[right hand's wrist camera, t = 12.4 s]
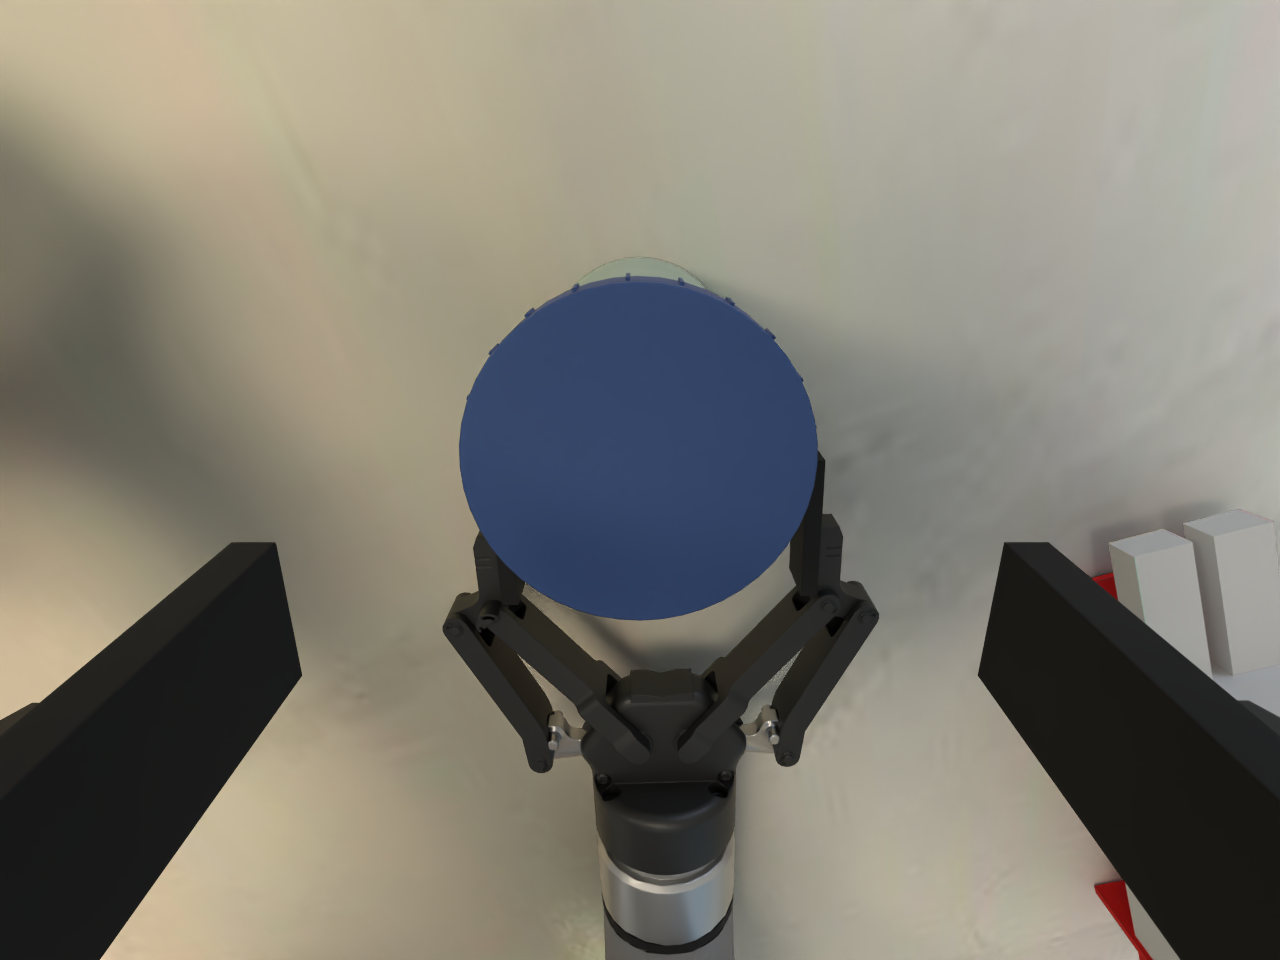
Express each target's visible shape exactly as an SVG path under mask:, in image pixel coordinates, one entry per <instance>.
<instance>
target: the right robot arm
mask: <svg viewBox="0 0 1280 960" xmlns="http://www.w3.org/2000/svg"><path fill="white" fill-rule="evenodd" d="M301 676H302V672H301V667H300V662H299V657H298V652H297V647H296V642H295V637H294V632H293V627H292V622H291V617H290V612H289V607H288V602H287V597H286V592H285V587H284V582H283V577H282V572H281V566H280V561H279V556H278V551H277V546H276V542H231V543H230V544H229V545H228V546H227V547H225V548H224V549H223V550H222V551H221V552H219V553H218V554H217V555H216V556H215V557H214V558H212V559H211V560H210V561H209V562H208V563H206V564H205V565H204V566H203V567H202V568H200V569H199V570H198V571H197V572H196V573H194V574H193V575H192V576H191V577H190V578H188V579H187V580H186V581H185V582H184V583H182V584H181V585H180V586H179V587H178V588H176V589H175V590H174V591H173V592H172V593H170V594H169V595H168V596H167V597H166V598H165V599H163V600H162V601H161V602H160V603H159V604H157V605H156V606H155V607H154V608H153V609H151V610H150V611H149V612H148V613H147V614H145V615H144V616H143V617H142V618H141V619H139V620H138V621H137V622H136V623H135V624H133V625H132V626H131V627H130V628H129V629H127V630H126V631H125V632H124V633H123V634H121V635H120V636H119V637H118V638H117V639H115V640H114V641H113V642H112V643H111V644H110V645H108V646H107V647H106V648H105V649H104V650H102V651H101V652H100V653H99V654H98V655H96V656H95V657H94V658H93V659H92V660H90V661H89V662H88V663H87V664H86V665H84V666H83V667H82V668H81V669H80V670H78V671H77V672H76V673H75V674H74V675H72V676H71V677H70V678H69V679H68V680H66V681H65V682H64V683H63V684H62V685H61V686H59V687H58V688H57V689H56V690H55V691H53V692H52V693H51V694H50V695H49V696H47V697H46V698H45V699H44V700H43V701H41V702H40V703H31V704H29V705H27V706H26V707H24V708H22V709H20V710H18V711H16V712H15V713H13V714H11V715H9V716H7V717H5V718H4V719H2V720H0V960H100V959H101V957H102V956H103V955H104V953H105V952H106V950H107V949H108V948H109V946H110V945H111V943H112V942H113V941H114V939H115V938H116V936H117V935H118V933H119V932H120V931H121V929H122V928H123V926H124V925H125V924H126V922H127V921H128V919H129V918H130V917H131V915H132V914H133V912H134V911H135V910H136V908H137V907H138V905H139V904H140V903H141V901H142V900H143V898H144V897H145V896H146V894H147V893H148V891H149V890H150V889H151V887H152V886H153V884H154V883H155V881H156V880H157V879H158V877H159V876H160V874H161V873H162V872H163V870H164V869H165V867H166V866H167V865H168V863H169V862H170V860H171V859H172V858H173V856H174V855H175V853H176V852H177V851H178V849H179V848H180V846H181V845H182V844H183V842H184V841H185V839H186V838H187V837H188V835H189V834H190V832H191V831H192V830H193V828H194V827H195V825H196V824H197V822H198V821H199V820H200V818H201V817H202V815H203V814H204V813H205V811H206V810H207V808H208V807H209V806H210V804H211V803H212V801H213V800H214V799H215V797H216V796H217V794H218V793H219V792H220V790H221V789H222V787H223V786H224V785H225V783H226V782H227V780H228V779H229V778H230V776H231V775H232V773H233V772H234V770H235V769H236V768H237V766H238V765H239V763H240V762H241V761H242V759H243V758H244V756H245V755H246V754H247V752H248V751H249V749H250V748H251V747H252V745H253V744H254V742H255V741H256V740H257V738H258V737H259V735H260V734H261V733H262V731H263V730H264V728H265V727H266V726H267V724H268V723H269V721H270V720H271V719H272V717H273V716H274V714H275V713H276V711H277V710H278V709H279V707H280V706H281V704H282V703H283V702H284V700H285V699H286V697H287V696H288V695H289V693H290V692H291V690H292V689H293V688H294V686H295V685H296V683H297V682H298V681H299V679H300V678H301ZM978 676H979V678H980V679H981V681H982V682H983V683H984V685H985V686H986V688H987V689H988V690H989V692H990V693H991V695H992V696H993V697H994V699H995V700H996V702H997V703H998V704H999V706H1000V707H1001V709H1002V710H1003V711H1004V713H1005V714H1006V716H1007V717H1008V719H1009V720H1010V721H1011V723H1012V724H1013V726H1014V727H1015V728H1016V730H1017V731H1018V733H1019V734H1020V735H1021V737H1022V738H1023V740H1024V741H1025V742H1026V744H1027V745H1028V747H1029V748H1030V749H1031V751H1032V752H1033V754H1034V755H1035V756H1036V758H1037V759H1038V761H1039V762H1040V763H1041V765H1042V766H1043V768H1044V769H1045V770H1046V772H1047V773H1048V775H1049V776H1050V778H1051V779H1052V780H1053V782H1054V783H1055V785H1056V786H1057V787H1058V789H1059V790H1060V792H1061V793H1062V794H1063V796H1064V797H1065V799H1066V800H1067V801H1068V803H1069V804H1070V806H1071V807H1072V808H1073V810H1074V811H1075V813H1076V814H1077V815H1078V817H1079V818H1080V820H1081V821H1082V822H1083V824H1084V825H1085V827H1086V828H1087V830H1088V831H1089V832H1090V834H1091V835H1092V837H1093V838H1094V839H1095V841H1096V842H1097V844H1098V845H1099V846H1100V848H1101V849H1102V851H1103V852H1104V853H1105V855H1106V856H1107V858H1108V859H1109V860H1110V862H1111V863H1112V865H1113V866H1114V867H1115V869H1116V870H1117V872H1118V873H1119V874H1120V876H1121V877H1122V879H1123V880H1124V881H1125V883H1126V884H1127V886H1128V887H1129V889H1130V890H1131V891H1132V893H1133V894H1134V896H1135V897H1136V898H1137V900H1138V901H1139V903H1140V904H1141V905H1142V907H1143V908H1144V910H1145V911H1146V912H1147V914H1148V915H1149V917H1150V918H1151V919H1152V921H1153V922H1154V924H1155V925H1156V926H1157V928H1158V929H1159V931H1160V932H1161V933H1162V935H1163V936H1164V938H1165V939H1166V941H1167V942H1168V943H1169V945H1170V946H1171V948H1172V949H1173V950H1174V952H1175V953H1176V955H1177V956H1178V957H1179V959H1180V960H1280V717H1279V716H1277V715H1275V714H1273V713H1271V712H1269V711H1268V710H1266V709H1264V708H1262V707H1260V706H1258V705H1256V704H1255V703H1253V702H1251V701H1249V700H1236V699H1235V698H1234V697H1233V696H1231V695H1230V694H1229V693H1228V692H1227V691H1225V690H1224V689H1223V688H1222V687H1221V686H1219V685H1218V684H1217V683H1216V682H1215V681H1214V680H1212V679H1211V678H1210V677H1209V676H1208V675H1206V674H1205V673H1204V672H1203V671H1202V670H1200V669H1199V668H1198V667H1197V666H1196V665H1194V664H1193V663H1192V662H1191V661H1190V660H1188V659H1187V658H1186V657H1185V656H1184V655H1182V654H1181V653H1180V652H1179V651H1178V650H1176V649H1175V648H1174V647H1173V646H1172V645H1170V644H1169V643H1168V642H1167V641H1166V640H1165V639H1163V638H1162V637H1161V636H1160V635H1159V634H1157V633H1156V632H1155V631H1154V630H1153V629H1151V628H1150V627H1149V626H1148V625H1147V624H1145V623H1144V622H1143V621H1142V620H1141V619H1139V618H1138V617H1137V616H1136V615H1135V614H1133V613H1132V612H1131V611H1130V610H1129V609H1127V608H1126V607H1125V606H1124V605H1123V604H1121V603H1120V602H1119V601H1118V600H1117V599H1115V598H1114V597H1113V596H1112V595H1111V594H1110V593H1108V592H1107V591H1106V590H1105V589H1104V588H1102V587H1101V586H1100V585H1099V584H1098V583H1096V582H1095V581H1094V580H1093V579H1092V578H1090V577H1089V576H1088V575H1087V574H1086V573H1084V572H1083V571H1082V570H1081V569H1080V568H1078V567H1077V566H1076V565H1075V564H1074V563H1072V562H1071V561H1070V560H1069V559H1068V558H1066V557H1065V556H1064V555H1063V554H1062V553H1061V552H1059V551H1058V550H1057V549H1056V548H1055V547H1053V546H1052V545H1051V544H1050V543H1049V542H1004V546H1003V551H1002V556H1001V561H1000V566H999V571H998V577H997V582H996V587H995V592H994V597H993V602H992V607H991V612H990V617H989V622H988V627H987V632H986V637H985V642H984V647H983V652H982V657H981V662H980V667H979V672H978Z"/></svg>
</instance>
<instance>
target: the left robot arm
mask: <svg viewBox="0 0 1280 960" xmlns="http://www.w3.org/2000/svg"><path fill="white" fill-rule="evenodd" d="M824 476H825V459H824V458H823V457H822V455H821V454H820V452H819V451H818V450H817V470H816V476H815V483H814V488H813V491H812V494H811V498H810V501H809V505H808V508H807V510H806V512H805V514H804V517H803V519H802V521H801V523H800V525H799V527H798V529H797V531H796V532H795V534H794V536H793V537H792V539H791V541H790V564H789V568H790V571H791V573H792V576H793V578H794V581H795V583H796V586H795V587H794V588H793V589H792V590H791V591H790V592H789V593H788V594H787V595H786V596H785V597H784V598H783V599H782V600H781V601H780V602H779V603H778V604H777V605H776V606H775V607H774V608H773V609H772V610H771V611H770V612H769V614H768V615H767V616H766V617H765V618H764V619H763V620H762V621H761V622H760V623H759V624H758V625H757V626H756V627H755V628H754V629H753V630H752V631H751V632H750V633H749V634H748V635H747V636H746V637H745V638H744V639H743V640H742V641H741V642H740V643H739V644H738V645H737V646H736V647H735V648H734V649H733V650H732V651H731V652H730V653H729V654H728V655H727V656H726V657H719V658H718V659H717V660H716V661H715V662H714V663H713V664H712V665H711V666H710V667H709V668H708V669H707V670H706V671H705V672H704V673H703V674H702V675H701V676H699V675H696V674H692V673H691V669H675V670H671V671H667V672H663V673H658V672H653V671H647V670H633V671H631V675H629V676H626V677H624V678H621V677H620V676H618V675H617V674H616V673H615V672H614V671H613V670H612V669H611V668H610V667H609V666H607V665H606V664H605V663H604V662H603V661H600V660H599V661H595V660H594V659H593V658H592V657H591V656H590V655H588V654H587V653H586V652H585V651H584V650H583V649H582V648H581V647H580V646H579V645H577V644H576V643H575V642H574V641H573V640H572V639H571V638H570V637H569V636H568V635H566V634H565V633H564V632H563V631H562V630H561V629H560V628H559V627H558V626H556V625H555V624H554V623H553V622H552V621H551V620H550V619H549V618H548V617H547V616H545V615H544V614H543V613H542V612H541V611H540V610H539V609H538V608H537V607H536V606H534V605H533V604H532V603H531V602H530V601H529V600H528V599H527V598H526V597H524V596H523V595H522V592H523V588H524V585H525V581H523V580H522V579H520V578H519V577H518V576H517V575H516V574H515V573H514V572H513V571H512V570H511V569H510V568H509V567H508V566H506V565H505V563H504V562H503V561H502V560H501V559H500V558H499V556H498V555H497V554H496V553H495V552H494V550H493V549H492V548H491V547H490V545H489V543H488V542H487V540H486V539H485V537H484V536H483V534H482V532H481V531H479V533H478V535H477V537H476V541H475V544H474V547H473V550H474V557H475V565H476V573H477V580H478V588H479V591H477V592H475V593H472V594H471V593H461V594H459V595H458V596H457V597H456V599H455V601H454V603H453V605H452V607H451V610H450V612H449V614H448V616H447V618H446V621H445V623H444V625H443V632H444V634H445V636H446V637H447V639H448V640H449V641H450V643H451V644H452V645H453V647H454V648H455V649H456V651H457V652H458V653H459V655H460V656H461V657H462V659H463V660H464V661H465V663H466V664H467V665H468V667H469V668H470V669H471V671H472V672H473V673H474V675H475V676H476V677H477V679H478V680H479V681H480V683H481V684H482V685H483V687H484V688H485V690H486V691H487V692H488V694H489V695H490V696H491V698H492V699H493V700H494V702H495V703H496V704H497V706H498V707H499V708H500V710H501V711H502V712H503V714H504V715H505V716H506V718H507V719H508V720H509V722H510V723H511V724H512V726H513V727H514V728H515V730H516V731H517V732H518V734H519V735H520V736H521V738H522V739H523V743H524V747H525V751H526V755H527V759H528V763H529V766H530V768H531V769H532V770H533V771H535V772H538V773H545V772H548V771H549V770H550V769H551V768H552V766H553V759H557V758H565V757H574V756H582V755H583V757H584V759H585V760H586V761H587V762H588V764H589V765H590V767H591V769H592V773H593V786H594V799H595V813H596V825H597V831H598V840H597V842H598V854H599V865H600V877H601V887H602V899H603V905H604V928H605V960H734V946H733V907H732V904H733V889H734V861H735V834H734V827H735V790H736V766H737V763H738V761H739V759H740V758H741V756H742V755H743V754H744V752H745V751H746V752H762V753H774V754H775V758H776V761H777V763H778V764H780V765H781V766H785V767H789V766H793V765H795V764H796V763H797V762H798V760H799V758H800V753H801V748H802V743H803V738H804V733H805V730H806V729H807V727H808V726H809V724H810V723H811V721H812V720H813V718H814V717H815V715H816V714H817V712H818V711H819V709H820V708H821V706H822V705H823V703H824V702H825V700H826V699H827V697H828V696H829V694H830V693H831V691H832V690H833V688H834V687H835V685H836V684H837V682H838V681H839V679H840V678H841V676H842V675H843V673H844V672H845V670H846V669H847V667H848V666H849V664H850V663H851V661H852V660H853V658H854V657H855V655H856V654H857V652H858V651H859V649H860V648H861V646H862V645H863V643H864V642H865V640H866V639H867V637H868V636H869V634H870V633H871V631H872V630H873V628H874V627H875V625H876V624H877V622H878V619H879V613H878V612H877V610H876V608H875V606H874V604H873V603H872V601H871V599H870V597H869V596H868V594H867V592H866V590H865V589H864V587H863V586H862V584H861V583H859V582H857V581H849V582H843V581H841V580H840V571H841V555H842V543H843V535H842V532H841V530H840V527H839V525H838V524H837V522H836V520H835V519H834V517H833V515H832V514H822V509H823V492H824ZM802 648H803V649H802ZM801 649H802V650H801ZM800 650H801V652H800V653H799V655H798V657H797V658H796V660H795V661H794V663H793V665H792V666H791V668H790V669H789V671H788V672H787V674H786V676H785V677H784V679H783V680H782V682H781V684H780V685H779V687H778V689H777V691H776V693H775V695H774V698H773V701H772V705H771V706H770V705H765V706H763V707H762V710H761V711H762V712H761V713H760V714H759V716H758V717H757V719H756V720H755V721H754V722H752V723H750V724H743V722H742V720H741V719H740V716H741V715H742V714H743V713H744V712H745V711H746V709H747V706H748V702H749V700H750V699H751V698H752V697H753V696H754V695H755V694H756V693H757V692H758V691H759V690H760V689H761V688H762V687H763V686H764V685H765V684H766V683H767V682H768V681H769V680H770V679H771V678H772V677H773V676H774V675H775V674H776V673H777V672H778V671H779V670H780V669H781V668H782V667H783V666H784V665H785V664H786V663H787V662H788V661H789V660H790V659H791V658H792V657H793V656H794V655H796V654H797V653H798V652H799V651H800ZM517 654H518V655H519V656H520V657H521V658H523V659H524V660H525V661H526V662H527V663H528V664H530V665H531V666H532V667H533V668H534V669H535V670H536V671H538V672H539V673H540V674H541V675H542V676H543V677H544V678H546V679H547V680H548V681H549V682H550V683H551V684H552V685H554V686H555V687H556V688H557V689H558V690H559V691H560V692H562V693H563V694H564V695H565V696H566V697H567V698H568V699H570V700H571V701H572V702H573V703H574V704H575V706H576V707H577V710H578V713H579V714H580V716H581V717H582V718H583V719H584V720H585V721H586V722H585V723H584V725H583V728H574V727H572V726H570V725H569V724H568V722H567V720H566V719H565V718H564V717H563V713H562V712H561V711H559V710H556V711H554V712H553V709H552V706H551V704H550V702H549V699H548V697H547V696H546V694H545V693H544V691H543V690H542V688H541V687H540V686H539V684H538V683H537V681H536V680H535V678H534V677H533V676H532V674H531V673H530V671H529V670H528V669H527V667H526V666H525V664H524V663H523V662H522V660H521V659H520V657H519V656H518V655H517Z"/></svg>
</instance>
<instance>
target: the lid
mask: <svg viewBox="0 0 1280 960" xmlns="http://www.w3.org/2000/svg"><path fill="white" fill-rule="evenodd" d="M524 316H525V317H526V318H525V319H524V320H523V321H522V322H521V323H519V324H518V325H517V326H516V327H515V328H514V329H513V330H512V331H511V332H510V333H509V334H508V335H507V336H506V337H505V338H504V339H503V340H502V342H501V343H500V344H497V345H496V346H495V347H494V348H493V349H492V350H491V351H490V352H489V355H490V357H489V358H488V359H487V361H486V363H485V364H484V366H483V368H482V370H481V371H480V373H479V375H478V376H477V378H476V380H475V383H474V385H473V387H472V390H471V392H470V394H469V395H468V396H467V403H466V407H465V411H464V415H463V419H462V423H461V432H460V442H459V456H460V471H461V477H462V482H463V488H464V492H465V495H466V498H467V501H468V504H469V507H470V510H471V512H472V514H473V517H474V519H475V521H476V523H477V525H478V527H479V529H480V531H481V532H482V534H483V536H484V537H485V539H486V540H487V542H488V543H489V545H490V547H491V548H492V549H493V550H494V552H495V553H496V554H497V555H498V556H499V558H500V559H501V560H502V561H503V562H504V563H505V565H506V566H508V567H509V568H510V569H511V570H512V571H513V572H514V573H515V574H516V575H517V576H518V577H519V578H520V579H522V580H523V581H525V582H526V583H527V584H529V585H530V586H531V587H533V588H534V589H536V590H537V591H538V592H540V593H542V594H544V595H545V596H547V597H549V598H551V599H553V600H554V601H556V602H558V603H561V604H563V605H566V606H568V607H571V608H573V609H575V610H578V611H582V612H585V613H589V614H592V615H596V616H601V617H607V618H613V619H621V620H655V619H665V618H670V617H676V616H681V615H685V614H688V613H692V612H695V611H698V610H702V609H704V608H707V607H709V606H711V605H714V604H716V603H718V602H721V601H723V600H725V599H726V598H728V597H730V596H732V595H733V594H735V593H737V592H739V591H740V590H742V589H743V588H744V587H746V586H747V585H748V584H750V583H751V582H752V581H754V580H755V579H756V578H758V577H759V576H760V575H761V574H762V573H763V572H764V571H765V570H766V569H767V568H768V567H769V566H770V565H771V564H772V563H774V561H775V560H776V559H777V558H778V556H779V555H780V554H781V553H782V552H783V550H784V549H785V548H786V547H787V545H788V544H789V542H790V540H791V539H792V537H793V536H794V534H795V532H796V531H797V529H798V527H799V525H800V523H801V521H802V519H803V517H804V514H805V512H806V510H807V508H808V505H809V501H810V498H811V494H812V491H813V488H814V483H815V476H816V470H817V450H818V441H817V433H816V425H815V419H814V415H813V412H812V408H811V404H810V400H809V397H808V395H807V393H806V390H805V388H804V386H803V383H802V382H803V378H802V377H801V376H800V375H799V374H798V373H797V372H796V370H795V368H794V367H793V365H792V363H791V362H790V360H789V358H788V357H787V356H786V354H785V353H784V352H783V351H782V349H781V348H780V347H779V346H778V345H777V343H776V342H775V341H774V339H775V338H776V337H775V336H774V335H773V334H772V333H771V332H770V331H769V330H768V329H767V328H766V329H765V330H764V329H763V328H762V327H761V326H760V325H759V324H758V323H756V322H755V321H754V320H753V319H752V318H751V317H750V316H749V315H748V314H747V313H745V312H744V311H742V310H741V309H740V308H738V307H737V306H735V303H734V302H733V301H732V300H731V299H730V298H729V297H726V299H724V298H722V297H720V296H718V295H716V294H714V293H712V292H710V291H708V290H706V289H704V288H701V287H698V286H695V285H692V284H689V283H686V282H684V280H683V279H682V278H678V280H673V279H667V278H662V277H649V276H630V273H626V277H614V278H609V279H604V280H600V281H595V282H590V283H587V284H585V285H582V286H579V283H577V284H575V285H574V286H573V288H572V289H571V290H568V291H566V292H564V293H562V294H560V295H559V296H557V297H555V298H553V299H551V300H549V301H547V302H546V303H544V304H543V305H542V306H540V307H539V308H537V309H536V310H535V309H534V308H532V309H530V310H529V311H528V312H527V313H526V314H525V315H524Z"/></svg>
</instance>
